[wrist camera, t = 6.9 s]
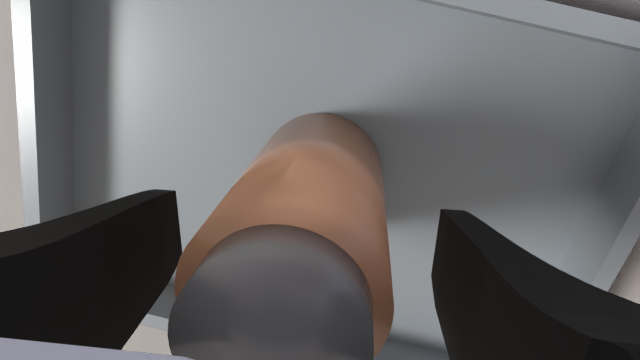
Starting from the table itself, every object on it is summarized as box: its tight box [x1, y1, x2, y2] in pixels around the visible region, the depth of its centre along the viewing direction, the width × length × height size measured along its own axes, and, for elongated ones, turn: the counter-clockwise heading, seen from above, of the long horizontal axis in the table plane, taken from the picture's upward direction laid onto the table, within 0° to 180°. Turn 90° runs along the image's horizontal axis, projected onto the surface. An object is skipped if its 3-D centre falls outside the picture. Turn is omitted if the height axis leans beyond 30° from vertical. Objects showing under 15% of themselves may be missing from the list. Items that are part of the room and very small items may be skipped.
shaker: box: [168, 113, 394, 360], centre depth 11 cm, size 4×4×9 cm
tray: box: [11, 0, 640, 360], centre depth 15 cm, size 20×14×2 cm
